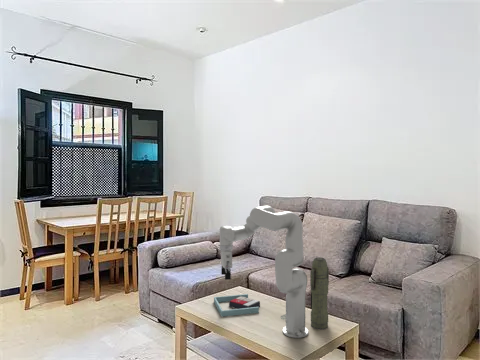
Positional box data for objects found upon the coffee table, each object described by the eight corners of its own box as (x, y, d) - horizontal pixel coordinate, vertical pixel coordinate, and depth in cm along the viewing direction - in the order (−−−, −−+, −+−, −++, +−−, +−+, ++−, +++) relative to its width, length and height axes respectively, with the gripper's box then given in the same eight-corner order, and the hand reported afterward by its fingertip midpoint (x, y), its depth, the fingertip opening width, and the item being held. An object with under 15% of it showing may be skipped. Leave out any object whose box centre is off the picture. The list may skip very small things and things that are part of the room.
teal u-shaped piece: (258, 312, 211) (258, 307, 211) (221, 316, 205) (221, 311, 205) (247, 298, 233) (247, 293, 232) (213, 302, 227) (213, 297, 227)
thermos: (333, 325, 194) (333, 258, 192) (319, 332, 186) (319, 262, 184) (319, 320, 200) (319, 255, 199) (305, 326, 192) (305, 258, 191)
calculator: (240, 295, 229) (260, 300, 219) (241, 302, 229) (260, 307, 219) (228, 300, 221) (248, 305, 211) (228, 307, 221) (248, 313, 211)
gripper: (236, 250, 209) (235, 281, 210) (229, 244, 226) (228, 272, 226) (222, 251, 207) (222, 282, 208) (216, 244, 224) (216, 272, 224)
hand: (226, 276), depth 217 cm, fingers open, 9 cm apart
